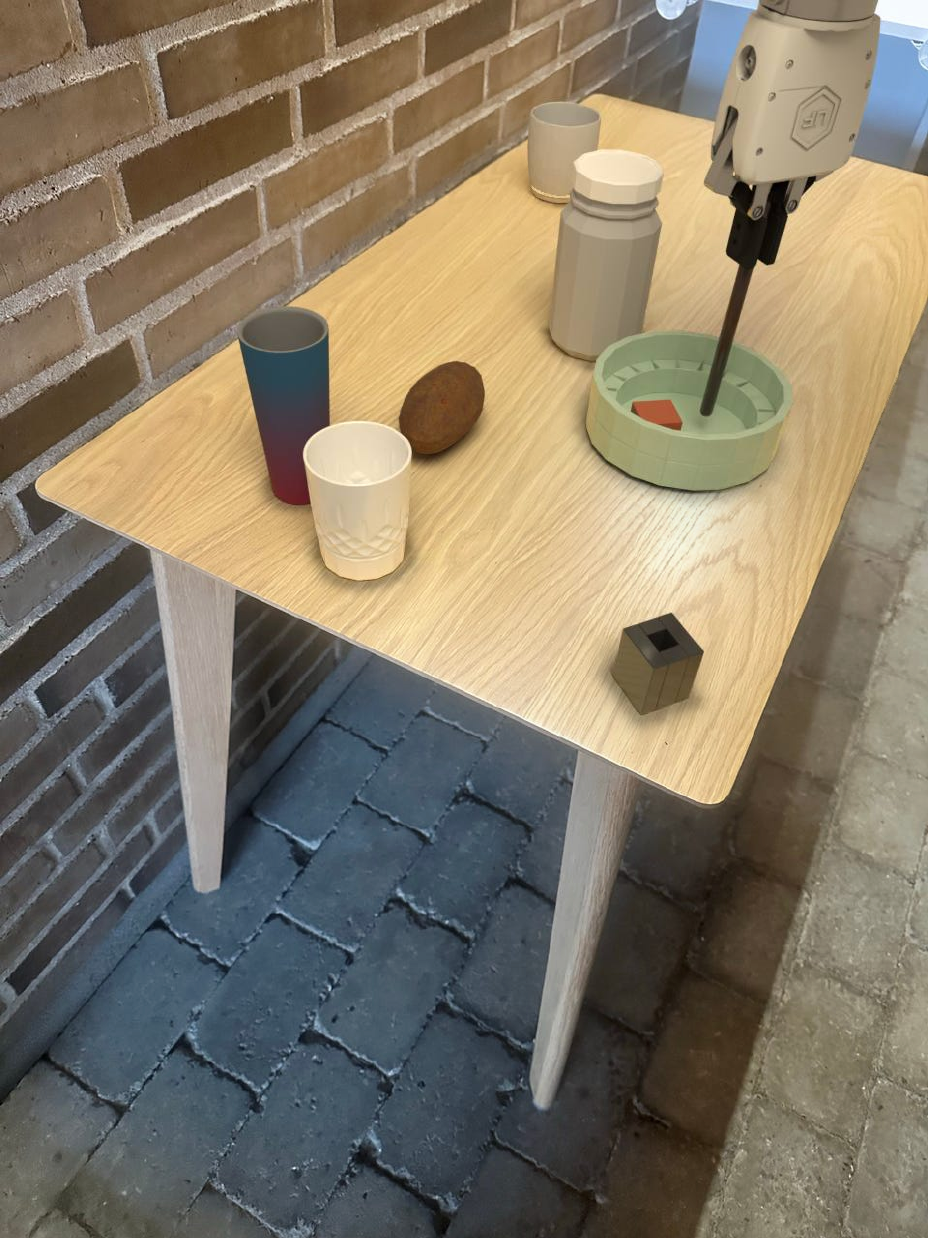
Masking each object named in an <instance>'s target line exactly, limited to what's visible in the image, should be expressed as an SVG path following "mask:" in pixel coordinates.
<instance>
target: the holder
mask: <svg viewBox="0 0 928 1238" xmlns="http://www.w3.org/2000/svg"><path fill="white" fill-rule="evenodd" d="M620 635H621V636H620V639H619V642H618V643H619V644H618V647H617V648H618V649H617V653H616V657H615V661H614V665H613V669H612V677H613V679H614V680H615V682H616V683H617V684H618V685H619V687H620V688H621V690H622V691H623V693H624V694H625V695H626V697H627V698H628V699H629V701H630V702H631V704H632V705H633V706H634V707H635V709H636V710H637V712H638V713H639V715H640V716H644V715H646V714H648V713H652V712H655V711H658V710H660V709H663V708H666V707H669V706H671V705H675V704H677V703H679V702H682V701H685V700H687V699H689V698H690V695H691V693H692V690H693V687H694V684H695V681H696V678H697V674H698V672H699V669H700V665H701V664H702V663H701V662H702V659H703V657H704V654H705V651H704V650H703V649H702V647H701V645H699V644H698V642H697V641H696V640H695V639H694V638H693V636H692V635H691V634H690V633H689V631H688V630H687V629H686V628H685V627H684V625H683V624H682V623H681V621H680V620H679V619H678V618H677V617H676V616H675V614H674V613H673V612H668V613H665V614H663V615H659V616H658V617H656V616H655V617H653V618H650V619H647V620H644V621H641V622H638V623H635V624H631V625H629V626H626V627H623V628H622V631H621V634H620Z"/></svg>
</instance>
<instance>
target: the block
mask: <svg viewBox="0 0 928 1238" xmlns="http://www.w3.org/2000/svg"><path fill="white" fill-rule="evenodd" d="M631 412H632V413H634V414H635V415H637V416H639V417H640V418H642V419H644V420H646V421H649V422H652V423H655V424H658V425H661V426H664V427H667V428H670V429H673V430H679V431H681V427H682V423H683V422H682V420H681V418H680V416H679V414H678V412H677V411H676V409H675V407H674V405H673V403H672V401H671V400H654V401H637V402H632V407H631Z"/></svg>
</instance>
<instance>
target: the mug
mask: <svg viewBox="0 0 928 1238" xmlns="http://www.w3.org/2000/svg"><path fill="white" fill-rule="evenodd" d="M528 120H529V121H528V129H527V145H526V146H527V148H526V149H527V171H528V173H527V174H528V179H529V184H530V183H531V185H532V186H533V187H534V188H536V189H537V190H540V191H541V192H544V193H548V194H551V195H556V196H566V195H570V191H571V190H572V189H573V188H574V186H573V183H572V172H573V163H574V161H576V160H577V159H578V158H579V157H580V156H581V155H582V154H584V153H588V152H593V151H597V150H599V143H600V142H599V141H600V132H601V124H602V115H601V113H600V112H599V111H598V110H597V109H594V108H593V107H590V106H589V105H585V104H581V103H576V102H572V101H571V102H570V101H551V102H545V103H541V104H539V105H536V106H535V107H534V106H533V108H532V109H531V111H530V112H529V119H528ZM531 191H532V193H533V194H534V196H535V197H536V198H538V199H540V200H542V201H544V202H547V203H553V204H568V203H569V202H570V201H571V197H570V198H554V197H549V196H545V195H542V194H539V193H537V192H536V191H534V190H533V189H532V188H531Z"/></svg>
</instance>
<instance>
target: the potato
mask: <svg viewBox="0 0 928 1238" xmlns="http://www.w3.org/2000/svg"><path fill="white" fill-rule="evenodd" d="M485 398H486V391H485V385H484V381H483V377H482V374H481V373H480V371H478V369H477V368H476V367H475V366H473V365H470V364H469V363H467V362H465V361H464V362H463V361H459V360H453V361H448V362H445V363H442V364H439V365H437V366H436V367H434V368H433V369H431V370H429V371H428V372H426V373H425V374H424V375H422V376H421V377H420V378H419V379H418V380H417V381H416V382H415V383H414V384H412V386H411V387H410V388H409V389H408V391H407V393H406V395H405V397H404V400H403V403H402V406H401V409H400V412H399V415H398V424H399V430H400V433H401V434H402V435H403V436H404V437H405V438H406V439H407V440H408V442H409V444H410V446H411V450H413V451H415V452H416V453H418V454H423V455H432V454H437V453H440V452H442V451H444V450H446V449H448V448H450V447H451V446H452V445H454V444H455V443H456V442H458V441H459V440H460V439H461V438H462V437H463V436H465V435H466V434H467V433H468V431H470V429H472V427H473V426H474V425H475V424H476V423H477V422H478V420H479V418H480V416H481V414H482V412H483V410H484V405H485Z"/></svg>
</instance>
